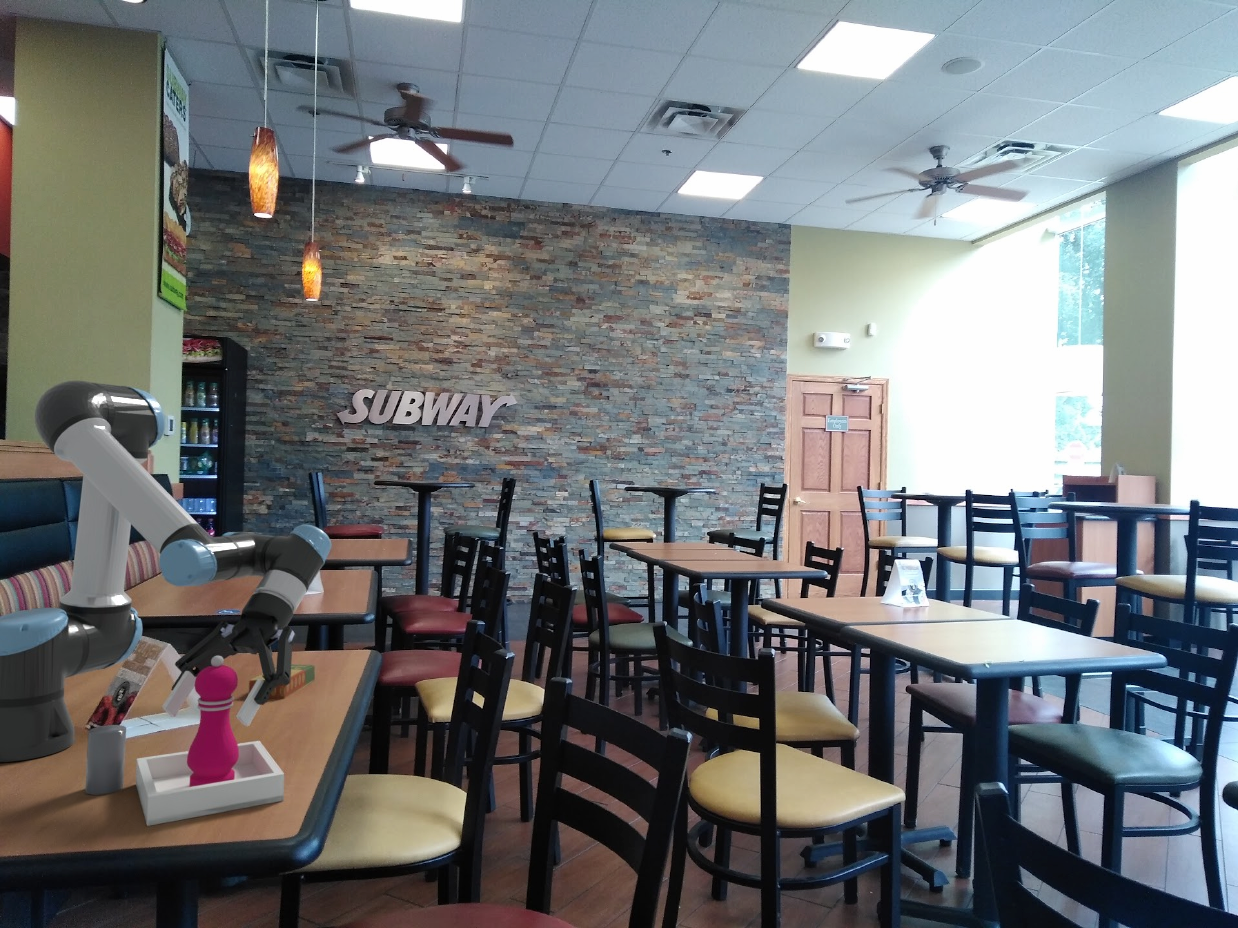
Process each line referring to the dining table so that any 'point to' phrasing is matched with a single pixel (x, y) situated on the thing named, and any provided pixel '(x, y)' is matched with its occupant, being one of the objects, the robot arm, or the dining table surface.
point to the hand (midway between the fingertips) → (204, 717)
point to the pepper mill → (214, 726)
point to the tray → (206, 785)
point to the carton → (298, 680)
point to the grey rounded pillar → (105, 759)
